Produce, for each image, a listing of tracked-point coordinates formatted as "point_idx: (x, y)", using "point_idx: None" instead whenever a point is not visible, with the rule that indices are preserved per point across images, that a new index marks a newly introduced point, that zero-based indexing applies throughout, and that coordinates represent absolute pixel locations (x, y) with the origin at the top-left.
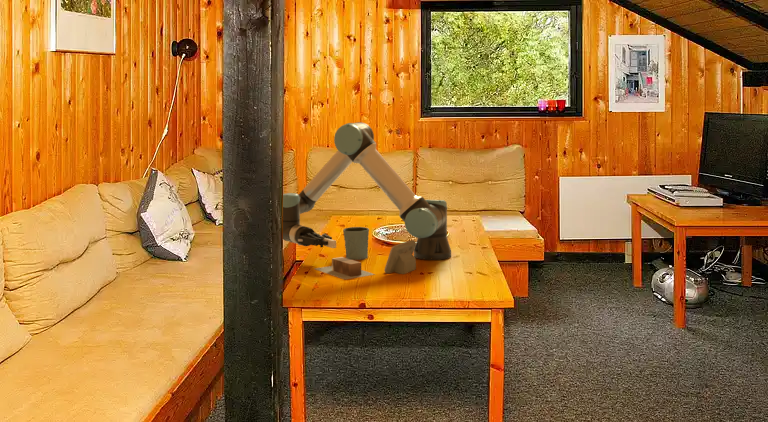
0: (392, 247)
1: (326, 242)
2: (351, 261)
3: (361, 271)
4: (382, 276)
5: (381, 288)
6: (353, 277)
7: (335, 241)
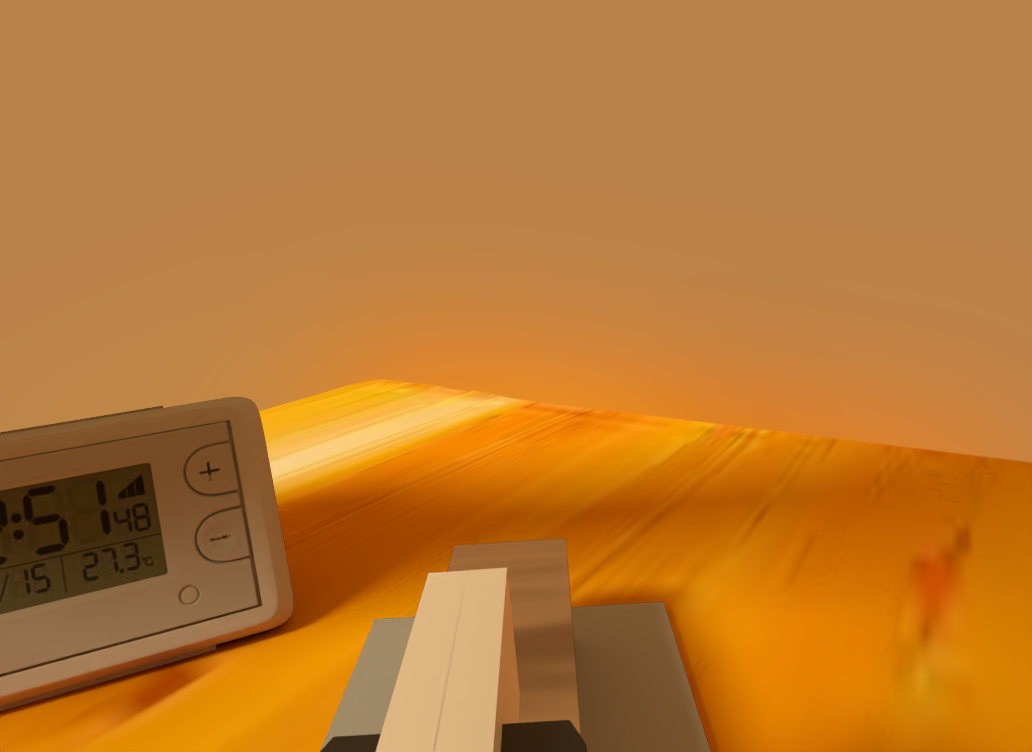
0: (244, 405)
1: (550, 740)
2: None
3: (366, 728)
4: (365, 596)
5: (566, 476)
6: (572, 614)
7: (443, 587)
